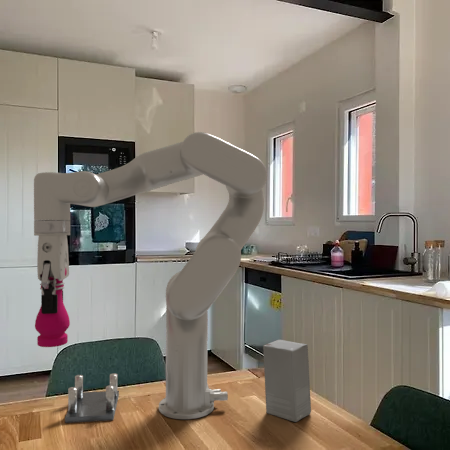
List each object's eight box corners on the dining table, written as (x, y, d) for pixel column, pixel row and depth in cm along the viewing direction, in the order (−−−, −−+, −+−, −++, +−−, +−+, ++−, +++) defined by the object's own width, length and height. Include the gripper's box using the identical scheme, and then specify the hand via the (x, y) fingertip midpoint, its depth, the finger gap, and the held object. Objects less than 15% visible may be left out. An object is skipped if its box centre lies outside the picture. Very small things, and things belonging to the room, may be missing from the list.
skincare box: (311, 414, 100) (312, 343, 100) (293, 425, 95) (293, 350, 95) (280, 404, 106) (281, 337, 106) (261, 413, 101) (262, 342, 101)
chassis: (118, 395, 111) (118, 370, 111) (113, 420, 97) (113, 391, 97) (76, 397, 109) (76, 372, 109) (65, 422, 96) (65, 393, 96)
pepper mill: (58, 348, 96) (57, 254, 95) (27, 347, 97) (27, 254, 97) (76, 340, 103) (75, 252, 103) (47, 338, 104) (47, 252, 104)
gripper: (62, 229, 92) (62, 318, 92) (76, 228, 109) (76, 303, 109) (23, 229, 91) (23, 319, 91) (44, 228, 108) (44, 304, 108)
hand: (52, 309), depth 100 cm, fingers closed on pepper mill, 5 cm apart
